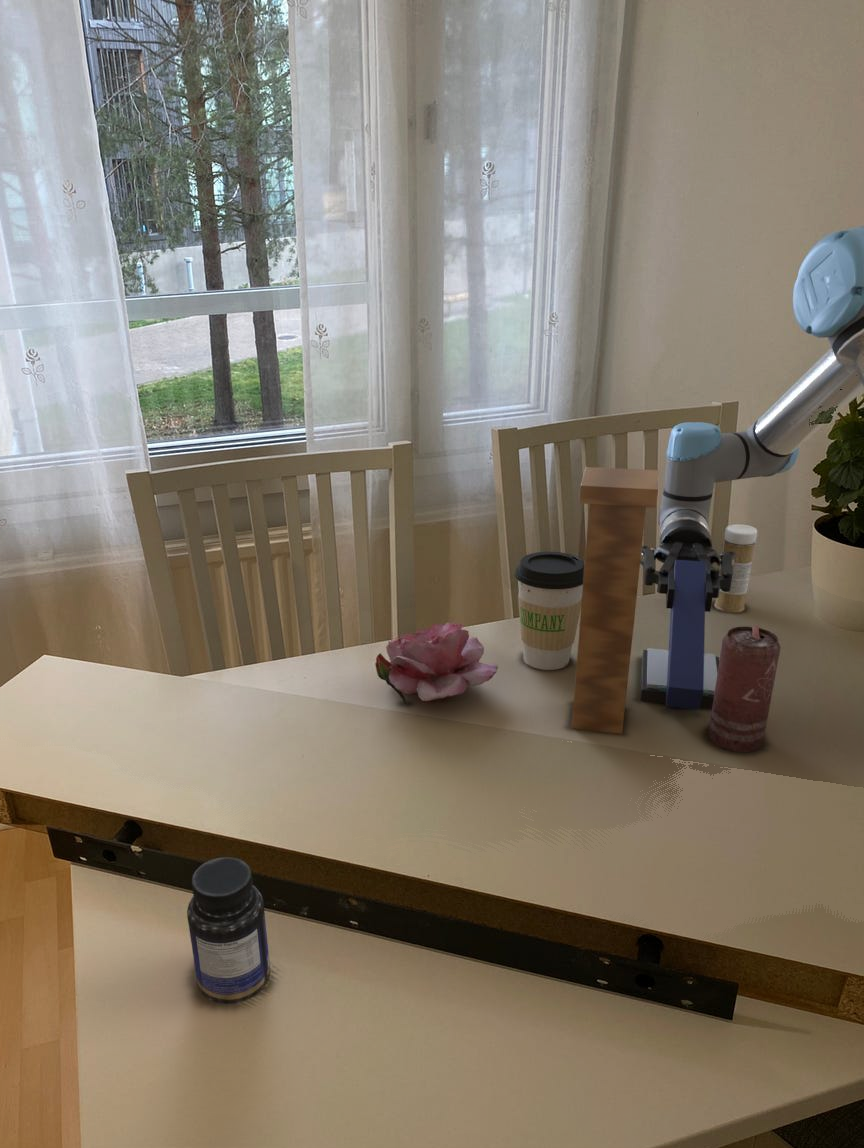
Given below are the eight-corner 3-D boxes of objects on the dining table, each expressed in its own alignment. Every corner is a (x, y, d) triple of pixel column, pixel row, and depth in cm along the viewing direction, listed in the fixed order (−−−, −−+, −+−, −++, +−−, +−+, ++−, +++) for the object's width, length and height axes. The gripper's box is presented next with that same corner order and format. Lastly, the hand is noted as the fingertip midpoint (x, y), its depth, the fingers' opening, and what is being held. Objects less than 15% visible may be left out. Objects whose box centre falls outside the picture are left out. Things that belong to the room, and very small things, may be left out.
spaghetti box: (702, 582, 126) (706, 561, 123) (699, 710, 113) (703, 690, 110) (672, 579, 127) (675, 559, 124) (665, 706, 114) (668, 687, 111)
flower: (522, 675, 119) (501, 605, 116) (446, 730, 110) (422, 656, 107) (443, 668, 130) (422, 605, 127) (370, 717, 122) (346, 651, 119)
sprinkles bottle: (711, 603, 146) (722, 523, 140) (740, 604, 145) (753, 523, 140) (717, 615, 142) (730, 532, 136) (748, 615, 141) (761, 532, 136)
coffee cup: (498, 654, 131) (502, 555, 125) (558, 642, 134) (565, 546, 128) (532, 683, 123) (538, 580, 116) (595, 670, 126) (604, 569, 119)
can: (759, 731, 110) (778, 626, 104) (764, 758, 105) (784, 649, 99) (706, 725, 112) (722, 621, 106) (708, 752, 106) (725, 644, 100)
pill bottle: (215, 947, 80) (202, 845, 75) (281, 958, 78) (271, 855, 74) (185, 1001, 74) (168, 895, 70) (255, 1014, 73) (243, 907, 68)
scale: (716, 669, 125) (719, 652, 124) (722, 712, 115) (725, 693, 114) (641, 662, 128) (643, 645, 127) (640, 703, 117) (642, 685, 116)
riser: (631, 709, 116) (658, 470, 102) (630, 742, 109) (658, 489, 96) (568, 702, 118) (585, 466, 104) (562, 734, 111) (580, 485, 98)
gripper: (740, 569, 139) (754, 632, 118) (625, 561, 143) (619, 620, 122) (748, 522, 135) (764, 579, 115) (629, 515, 140) (624, 568, 119)
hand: (689, 600), depth 119 cm, fingers closed on spaghetti box, 4 cm apart
